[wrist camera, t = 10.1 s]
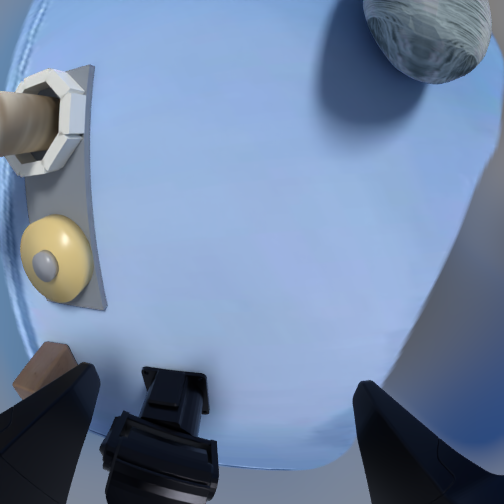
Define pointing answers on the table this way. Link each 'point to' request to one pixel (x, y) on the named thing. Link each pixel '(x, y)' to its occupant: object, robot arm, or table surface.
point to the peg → (27, 122)
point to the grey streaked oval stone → (431, 35)
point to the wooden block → (44, 368)
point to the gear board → (62, 196)
